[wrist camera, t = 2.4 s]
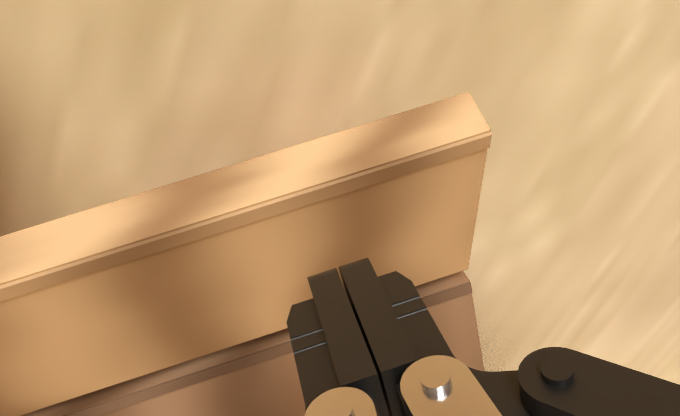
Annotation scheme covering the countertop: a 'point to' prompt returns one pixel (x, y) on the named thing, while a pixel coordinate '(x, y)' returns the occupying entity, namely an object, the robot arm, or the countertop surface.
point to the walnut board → (260, 370)
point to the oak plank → (232, 251)
